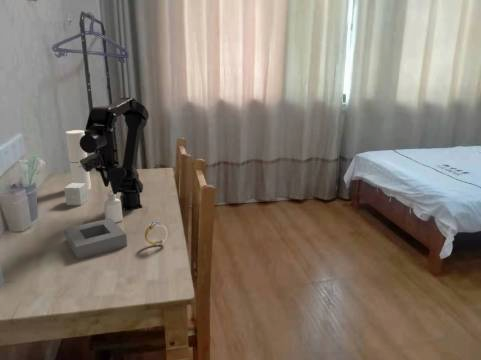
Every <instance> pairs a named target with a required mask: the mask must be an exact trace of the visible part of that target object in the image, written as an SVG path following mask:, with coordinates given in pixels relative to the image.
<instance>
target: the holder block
mask: <svg viewBox="0 0 481 360" xmlns="http://www.w3.org/2000/svg"><path fill="white" fill-rule="evenodd" d="M64 236H65V241H66V243H67V244H68V246H69V247H70V249H71V251H72V252H73V254H74V255H75V257H76V259H77V260H81V259H84V258H85V259H86V258H88V257H92V256H95V255H99V254H103V253H106V252H109V251H113V250H117V249H120V248H124V247H127V246H128V241H127V234H126V232H125V231H124V230H123V229H122V228H121V227H120V226H119V225H118V223H115V222H114V221H113V220H112V219H111V218H109V219H101V220H98V221H93V222H88V223H84V224H80V225H75V226H71V227H66V228H64Z"/></svg>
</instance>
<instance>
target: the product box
mask: <svg viewBox="0 0 481 360" xmlns="http://www.w3.org/2000/svg"><path fill="white" fill-rule="evenodd" d="M63 190H64V197H65V202H66V206H82V205H84V204H85V203H86V202H88V201H89V197H88V190H87V189H86V183H73V182H71V183H69V184H68V185H65V187H64V188H63Z"/></svg>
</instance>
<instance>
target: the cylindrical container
mask: <svg viewBox="0 0 481 360" xmlns="http://www.w3.org/2000/svg"><path fill="white" fill-rule="evenodd" d="M84 132H85V130H83V129H82V130H81V129H74V130H67V131H65V136H66V137H65V138H66V143H67V150H68V158H69V159H68V160H69V167H70V173H71V174H70V175H71V179H72V182H71V183H86V189H87V191H89V190H91V189H92V183H91V177H90V176H91V175H90V171H89V172H86V171H85V170H84V169H83V167H82V165H81V163H80V160H82V159H84V158H86V157H88V153H86V152H84V151H83V150H82V148H81V147H80V139H81V138H82V136H84V135H85V133H84Z"/></svg>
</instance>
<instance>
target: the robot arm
mask: <svg viewBox="0 0 481 360" xmlns="http://www.w3.org/2000/svg"><path fill="white" fill-rule="evenodd" d="M149 114H150V113H149V111H148V109H147V108H146V107H145V106H144V104H141V103H140V102H138V101H137V100H136V98H134V97H125V96H124V97H120V98H119V99H118V100H116V101H114V102H112V103H110V104H108V105H105V106H93V107H91V109H90V111H89V113H88V117H87V120H86V121H87V122H86V125H85V130H84V133H85V135H84V136H82V138H81V139H80V147H81V148H82V150H83V151H84V152H86V153H87V154H90V155H87V157H86V158H84V159H82V160H80V163H81V165H82V167H83V169H84V170H85V171H86V172H89V173H90V172H91V171H92V170H93V169H95V170H96V171H98V173H99V175H100V178H101V180H102V183H103V185H104V187H109V185H110V189H112V192H113V194H115V195H117V194H119V193H120V196H119V200H120V201H121V208H123V209H124V211H129V210H135V209H139V208H143V205H142V204H141V194H140V193H143V190H144V184H143V183H142V181H141V180H140V174H139V172H138V169H137V160H138V154H139V153H138V152H139V146H140V141H141V139H140V138H141V133H142V131H143V129H144V128H145V127H146V126H147V123H148V120H149V117H150V115H149ZM121 115H122V116H123V118H124V122H125V124H126V127H127V133H126V141H125V145H124V151H123V159H122V165H120V164H119V160H118V159H117V154H116V153H118V148H116V143H115V134H114V133H115V130H117V128H116V126H114V125H115V124H116V122H118V117H120V116H121Z"/></svg>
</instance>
